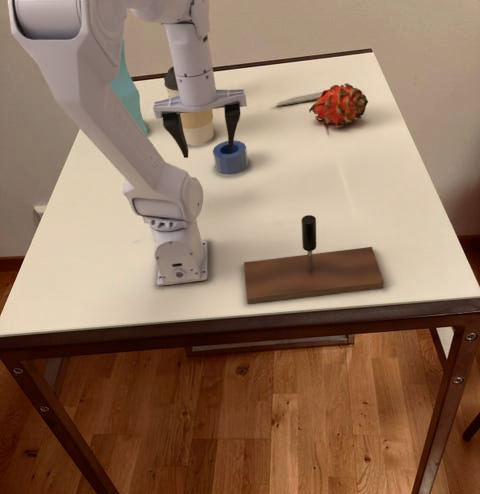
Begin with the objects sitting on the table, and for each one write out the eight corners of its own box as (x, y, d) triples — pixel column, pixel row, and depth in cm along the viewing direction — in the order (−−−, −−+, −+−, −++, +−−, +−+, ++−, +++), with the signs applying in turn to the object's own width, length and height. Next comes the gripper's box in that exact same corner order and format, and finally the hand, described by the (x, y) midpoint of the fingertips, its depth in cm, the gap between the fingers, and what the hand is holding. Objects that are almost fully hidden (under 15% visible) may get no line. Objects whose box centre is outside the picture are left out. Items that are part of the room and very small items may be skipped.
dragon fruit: (371, 129, 107) (314, 141, 110) (367, 91, 108) (310, 104, 111) (370, 110, 99) (308, 123, 102) (365, 69, 100) (304, 83, 103)
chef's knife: (272, 102, 118) (274, 107, 115) (272, 97, 117) (274, 102, 115) (355, 88, 117) (358, 93, 115) (355, 83, 116) (358, 88, 114)
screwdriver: (315, 261, 78) (314, 213, 71) (317, 271, 76) (317, 223, 70) (302, 263, 78) (300, 215, 71) (304, 272, 77) (302, 225, 70)
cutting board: (383, 287, 74) (384, 282, 73) (247, 303, 75) (246, 298, 74) (371, 252, 80) (371, 246, 79) (244, 267, 81) (243, 262, 80)
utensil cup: (249, 173, 99) (247, 155, 96) (216, 178, 99) (212, 160, 96) (247, 156, 103) (245, 138, 100) (215, 160, 103) (212, 142, 100)
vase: (150, 134, 114) (124, 39, 99) (116, 145, 113) (85, 50, 98) (141, 120, 119) (116, 28, 105) (109, 130, 118) (78, 38, 103)
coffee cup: (213, 149, 107) (200, 76, 95) (172, 149, 109) (155, 78, 97) (222, 127, 112) (211, 56, 101) (184, 127, 114) (169, 58, 103)
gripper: (240, 51, 78) (249, 134, 88) (147, 65, 79) (167, 145, 89) (242, 70, 73) (252, 155, 83) (144, 84, 74) (165, 167, 84)
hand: (208, 151), depth 86 cm, fingers open, 7 cm apart
